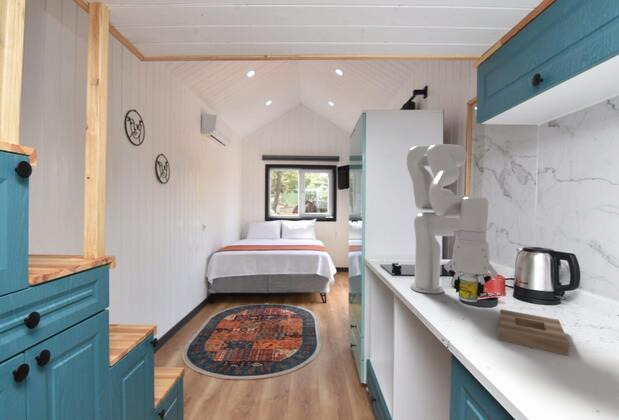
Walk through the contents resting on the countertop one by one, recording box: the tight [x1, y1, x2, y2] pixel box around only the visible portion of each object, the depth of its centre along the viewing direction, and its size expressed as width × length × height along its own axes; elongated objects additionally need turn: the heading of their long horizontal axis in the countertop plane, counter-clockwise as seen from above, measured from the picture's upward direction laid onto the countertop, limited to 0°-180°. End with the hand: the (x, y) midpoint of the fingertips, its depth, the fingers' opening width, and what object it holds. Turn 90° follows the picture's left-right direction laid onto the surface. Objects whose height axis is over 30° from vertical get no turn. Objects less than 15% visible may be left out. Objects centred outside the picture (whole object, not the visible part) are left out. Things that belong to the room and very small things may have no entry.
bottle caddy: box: [498, 309, 570, 356], centre depth 83 cm, size 18×14×3 cm
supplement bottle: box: [458, 273, 480, 303], centre depth 97 cm, size 5×5×10 cm
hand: (468, 292), depth 97 cm, fingers closed on supplement bottle, 5 cm apart
